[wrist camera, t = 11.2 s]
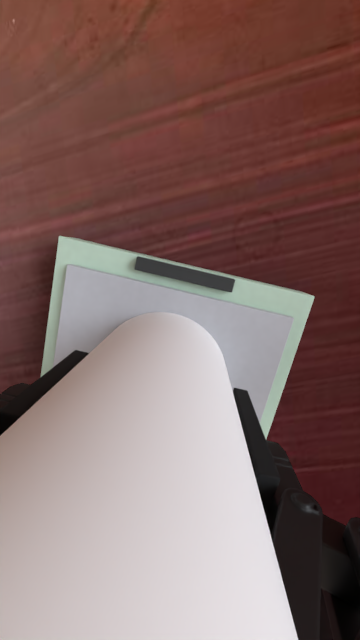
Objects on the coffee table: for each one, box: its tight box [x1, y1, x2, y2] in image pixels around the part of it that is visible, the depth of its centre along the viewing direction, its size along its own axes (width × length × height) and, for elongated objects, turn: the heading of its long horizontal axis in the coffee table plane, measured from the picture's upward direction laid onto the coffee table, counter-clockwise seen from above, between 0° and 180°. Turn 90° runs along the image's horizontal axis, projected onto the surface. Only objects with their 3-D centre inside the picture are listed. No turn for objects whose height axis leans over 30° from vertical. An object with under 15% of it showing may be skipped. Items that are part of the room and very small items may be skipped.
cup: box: [0, 312, 298, 640], centre depth 11 cm, size 8×8×16 cm
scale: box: [41, 236, 314, 439], centre depth 20 cm, size 16×14×3 cm
